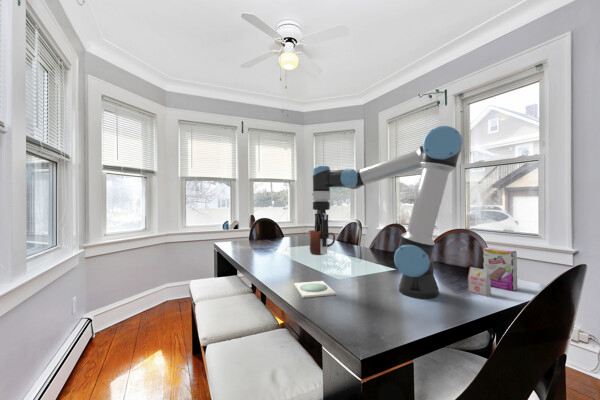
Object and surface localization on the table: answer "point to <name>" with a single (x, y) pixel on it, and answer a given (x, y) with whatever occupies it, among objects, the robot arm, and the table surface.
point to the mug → (317, 241)
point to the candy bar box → (501, 267)
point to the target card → (314, 289)
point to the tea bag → (479, 282)
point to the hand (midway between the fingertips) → (321, 252)
